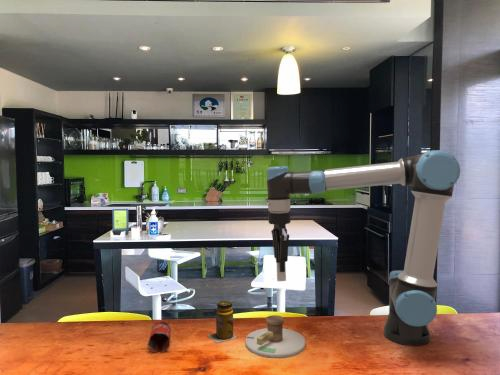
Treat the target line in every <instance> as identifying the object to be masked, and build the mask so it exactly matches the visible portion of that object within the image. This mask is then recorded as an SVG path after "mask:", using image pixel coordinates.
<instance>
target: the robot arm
mask: <svg viewBox="0 0 500 375" xmlns="http://www.w3.org/2000/svg"><path fill="white" fill-rule="evenodd" d="M266 175H267V177H266V186H267V202H266V206H267V211H268V212H269V213H267V217H268V224H269V225H273V228H272V229H271V236H272V246H273V247H272V248H273V256H274V259H275V263H276V280H277V282H286V281H287V274H286V272H287V270H286V262H288V257H289V240H290V234H289V233H288V229H287V226H286V225H288V224H290V223H292V222H291V221H292V220H291V219H292V218H291V212H290V211H291V197H290V196H291V195H308V194H309V195H311V194H313V195H318V194H325V192H326V191H333V190H344V189H353V188H354V189H355V188H365V187H375V186H376V187H378V186H387V185H398V184H400V185H401V186H403V187H408V186H409V187H410V186H411V189H410V192H411V194H412V195H413V197H414V205H413V209H412V210H413V212H412V217H411V224H410V227H409V228H410V230H409V234H408V235H409V236H408V242H407V249H406V254H405V255H406V256H405V261H404V265H403V266H404V268H403V270H392V271H390V272H389V277H388V281H389V283H388V284H389V285H388V286H389V288H388V289H389V291H388V292H389V296H388V298H389V302H388V304H389V305H388V306H389V308H388V315H387V318H386V320H385V324H384V325H383V335H384V337H385V338H386V339H388V340H389V341H392V342H394V343H397V344H401V345H407V346H424V345H427V344H428V343H429V344H430V341H431V331H430V329H429V326H428V324H430V323H432V322H433V321H434V319H435V318H436V316H437V314H438V307H437V306H438V305H437V302H436V297H437V296H436V294H437V289H438V283H437V281H436V280H435V279H434V273H435V267H436V261H437V255H438V250H439V244H440V237H441V231H442V225H443V218H444V214H445V213H444V212H445V206H446V203H447V201H449V200H450V199H452V198H453V192H454V187H455V184H456V183H457V182H458V181H459V178H460V175H461V166H460V163H459V161H458V160H457V158H456V157H455V156H454V155H453V154H451V153H449V152H447V151H444V150H440V149H437V150H435V149H432V150H429V151H426V152H423V153H420V154H417V155H414V156H413V155H412V156H409V157H402V158H400V159H398V161H391V162H382V163H373V164H365V165H363V164H362V165H356V166H345V167H338V168H328V169H319V170H310V171H309V170H308V171H307V170H305V171H290V168H289V166H287V165H286V166H285V165H284V166H282V165H281V166H270V167H268V168H267V172H266Z"/></svg>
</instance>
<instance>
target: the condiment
mask: <svg viewBox="0 0 500 375" xmlns="http://www.w3.org/2000/svg"><path fill="white" fill-rule="evenodd" d="M215 322H216V323H215V333H211V334H207V335H206V336H208V338H209V339H211V340H212V341H213V342H214V343H216V344H219V343H221V342H227V341H231V340H233V339H238V336H237V335H235V334H234V310H233V303H232V302H231V301H228V300H222V301H219V302H218V303H217V304H216V311H215Z"/></svg>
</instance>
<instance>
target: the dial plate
mask: <svg viewBox="0 0 500 375" xmlns="http://www.w3.org/2000/svg"><path fill="white" fill-rule="evenodd" d="M266 332H268V327H266V328H260V329H259V328H258V329H256V330H253V331H252V332H250V333H249V334H248V335H246V337H245V347H246V349H247V350H248V351H249V352H250V353H251V354H254V355H257V356H260V357H263V358H269V359H282V358H289V357H294V356H296V355H298V354H300V353H301V352H303V351H304V349H305V347H306V339H305V337H304V336H303V335H302V334H301V333H298V332H297V331H295V330H292V329H288V328H283V327H282V336H283V339H282V341H280V342H271V341H267V342H266V343H264V344H262V345H258V344H257V338H258V337H259V336H261V335H263V334H264V333H266Z"/></svg>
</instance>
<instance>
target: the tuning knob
mask: <svg viewBox="0 0 500 375" xmlns="http://www.w3.org/2000/svg"><path fill="white" fill-rule="evenodd" d="M265 322H266V323H267V328H268V332H266V333H264V334H263V335H261V336H259V337H258V338H257V344H258V345H262V344H264V343H266V342H267V341H271V342H280V341H282V339H283V336H282V328H283V324H284V322H285V318H284V316H281V315H277V314H276V315H275V314H274V315H268V316H266V318H265Z"/></svg>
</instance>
